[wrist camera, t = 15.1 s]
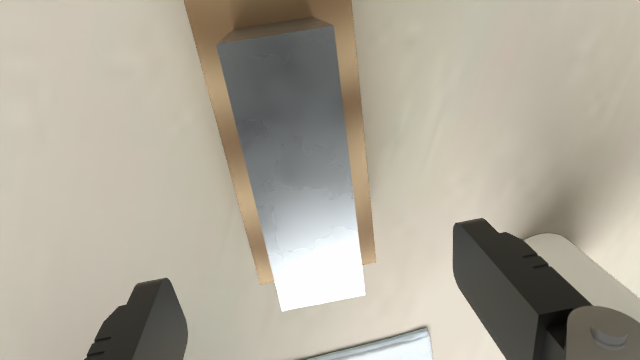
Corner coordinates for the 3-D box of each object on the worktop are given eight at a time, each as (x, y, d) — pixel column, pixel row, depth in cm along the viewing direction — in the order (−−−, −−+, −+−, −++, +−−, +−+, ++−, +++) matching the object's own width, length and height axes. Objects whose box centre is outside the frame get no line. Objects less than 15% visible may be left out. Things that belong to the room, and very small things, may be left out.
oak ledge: (360, 223, 31) (376, 262, 26) (261, 242, 31) (260, 284, 26) (328, -69, 22) (342, -86, 18) (188, -48, 22) (167, -60, 17)
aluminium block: (312, 16, 19) (333, 25, 13) (340, 218, 25) (365, 294, 18) (233, 29, 19) (215, 44, 13) (278, 230, 24) (281, 311, 18)
